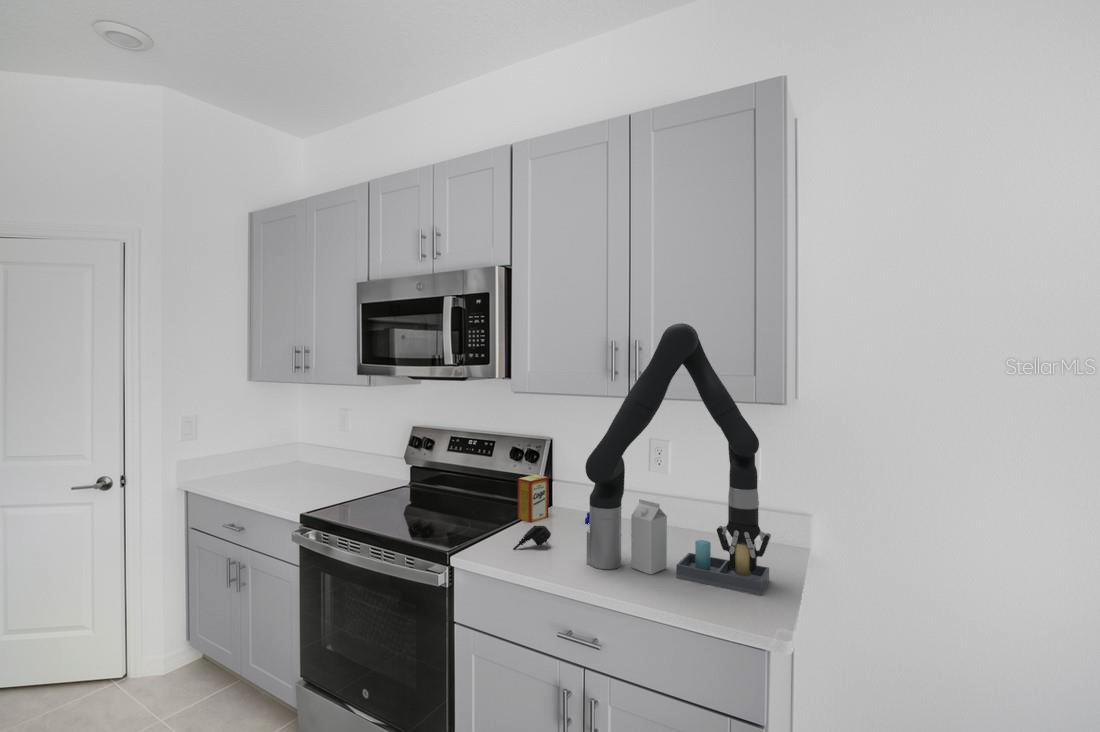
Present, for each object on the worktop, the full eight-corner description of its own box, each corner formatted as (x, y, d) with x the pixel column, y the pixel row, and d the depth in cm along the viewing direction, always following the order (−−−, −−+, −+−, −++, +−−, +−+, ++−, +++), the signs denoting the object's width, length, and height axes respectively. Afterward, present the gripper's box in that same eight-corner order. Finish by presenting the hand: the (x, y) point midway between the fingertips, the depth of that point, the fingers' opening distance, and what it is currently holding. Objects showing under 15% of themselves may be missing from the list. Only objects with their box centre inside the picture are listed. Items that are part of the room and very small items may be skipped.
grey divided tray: (676, 577, 148) (676, 564, 148) (688, 564, 158) (688, 552, 158) (761, 595, 137) (761, 581, 137) (769, 580, 146) (769, 567, 146)
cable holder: (585, 525, 197) (585, 514, 197) (589, 522, 200) (589, 511, 200) (605, 528, 193) (605, 517, 193) (609, 525, 196) (609, 514, 196)
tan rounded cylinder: (733, 574, 144) (733, 544, 144) (736, 569, 147) (736, 539, 147) (749, 577, 142) (749, 546, 142) (752, 572, 145) (752, 542, 145)
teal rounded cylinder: (693, 572, 149) (693, 543, 149) (697, 567, 153) (697, 539, 153) (708, 575, 147) (708, 545, 147) (712, 570, 151) (712, 541, 151)
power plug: (510, 544, 172) (539, 518, 175) (524, 562, 173) (553, 536, 176) (513, 550, 167) (543, 523, 169) (528, 568, 168) (558, 541, 171)
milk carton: (646, 562, 160) (647, 497, 160) (666, 569, 154) (667, 501, 154) (631, 568, 155) (631, 501, 155) (651, 575, 150) (651, 506, 150)
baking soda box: (530, 524, 197) (530, 480, 197) (517, 520, 202) (517, 477, 201) (548, 519, 204) (548, 476, 204) (535, 515, 208) (536, 473, 208)
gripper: (712, 503, 145) (712, 568, 145) (769, 511, 137) (769, 579, 137) (719, 497, 151) (719, 559, 151) (774, 504, 144) (774, 569, 144)
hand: (743, 568), depth 144 cm, fingers closed on tan rounded cylinder, 4 cm apart
